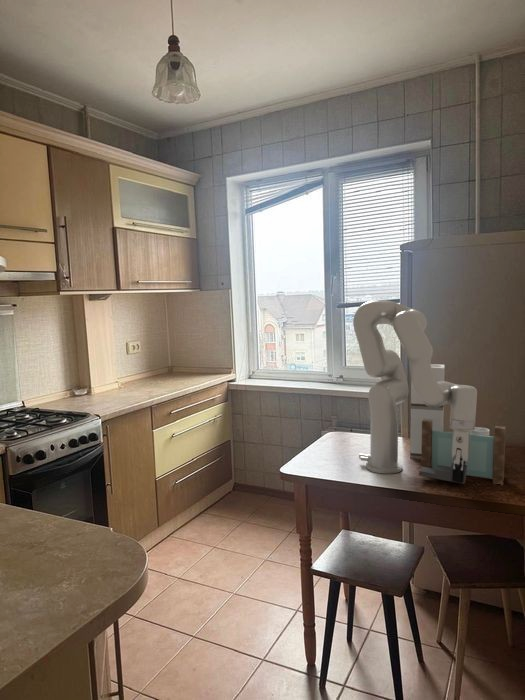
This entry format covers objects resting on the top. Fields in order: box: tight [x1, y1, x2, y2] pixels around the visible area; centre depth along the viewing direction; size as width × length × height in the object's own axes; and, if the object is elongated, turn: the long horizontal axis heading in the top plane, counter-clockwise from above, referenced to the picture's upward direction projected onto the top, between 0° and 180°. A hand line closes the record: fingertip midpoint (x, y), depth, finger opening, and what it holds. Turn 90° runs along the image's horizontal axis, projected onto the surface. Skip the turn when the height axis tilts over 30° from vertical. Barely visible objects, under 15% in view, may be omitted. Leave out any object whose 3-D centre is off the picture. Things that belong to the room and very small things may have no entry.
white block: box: [409, 363, 446, 460], centre depth 191 cm, size 11×11×35 cm
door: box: [432, 430, 495, 480], centre depth 170 cm, size 19×1×14 cm, turn 62°
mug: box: [471, 426, 490, 436], centre depth 186 cm, size 10×7×12 cm, turn 131°
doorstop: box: [418, 463, 467, 485], centre depth 163 cm, size 5×14×4 cm, turn 62°
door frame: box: [419, 419, 506, 486], centre depth 169 cm, size 26×8×18 cm, turn 62°
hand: (458, 478), depth 161 cm, fingers closed on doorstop, 5 cm apart
